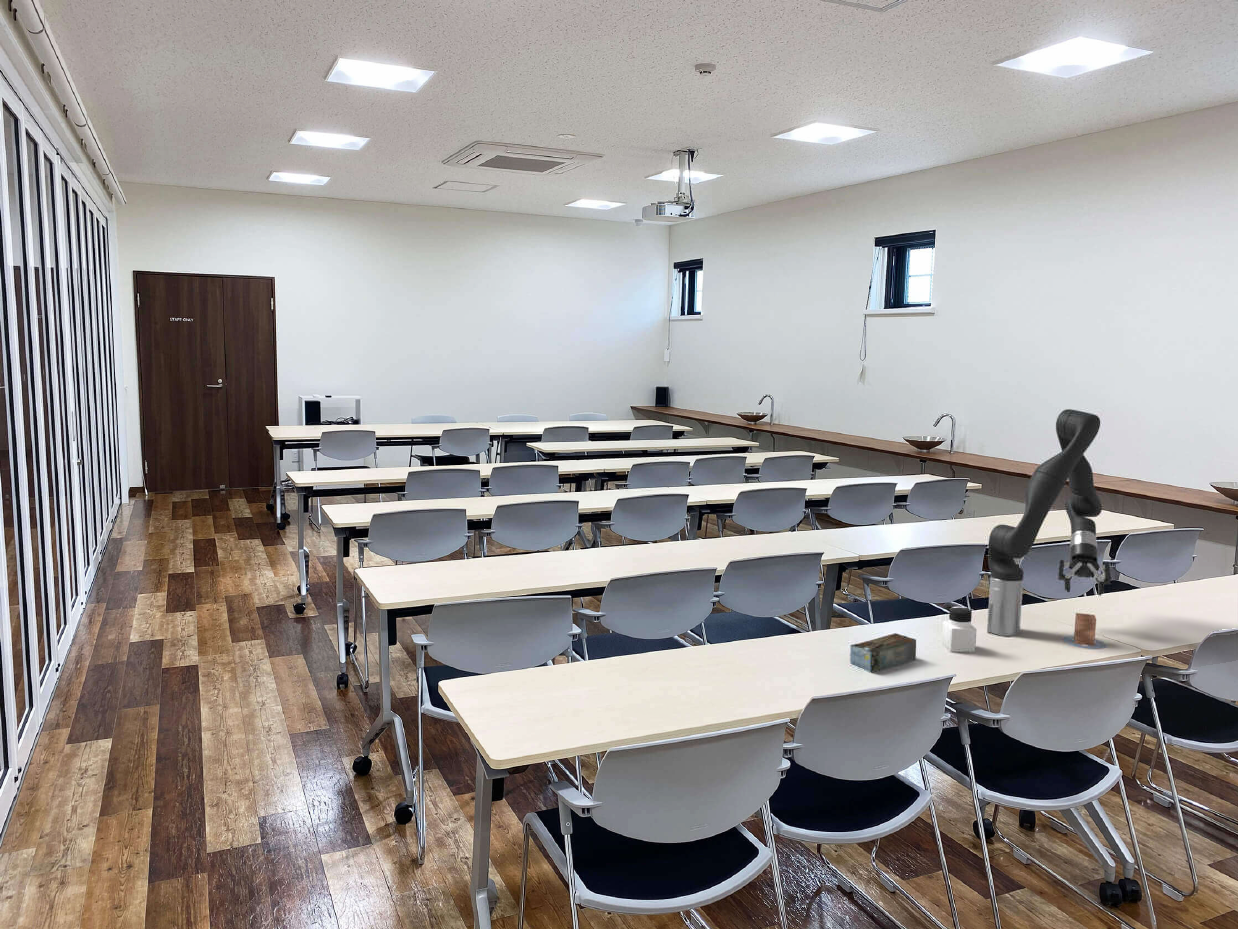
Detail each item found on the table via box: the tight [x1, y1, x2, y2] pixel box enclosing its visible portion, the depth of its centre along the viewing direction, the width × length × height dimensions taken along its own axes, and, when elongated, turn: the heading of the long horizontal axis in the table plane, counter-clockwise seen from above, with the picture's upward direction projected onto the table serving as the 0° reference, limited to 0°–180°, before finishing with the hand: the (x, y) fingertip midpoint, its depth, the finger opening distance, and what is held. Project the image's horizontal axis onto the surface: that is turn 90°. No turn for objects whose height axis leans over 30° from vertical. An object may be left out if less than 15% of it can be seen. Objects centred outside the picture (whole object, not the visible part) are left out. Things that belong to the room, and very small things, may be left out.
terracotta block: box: [1073, 612, 1097, 646], centre depth 259 cm, size 5×5×8 cm
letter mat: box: [1060, 635, 1108, 650], centre depth 260 cm, size 12×12×1 cm
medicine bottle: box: [941, 606, 977, 653], centre depth 254 cm, size 7×7×12 cm
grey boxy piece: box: [849, 632, 917, 673], centre depth 242 cm, size 8×19×7 cm, turn 123°
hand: (1084, 592), depth 267 cm, fingers open, 8 cm apart
